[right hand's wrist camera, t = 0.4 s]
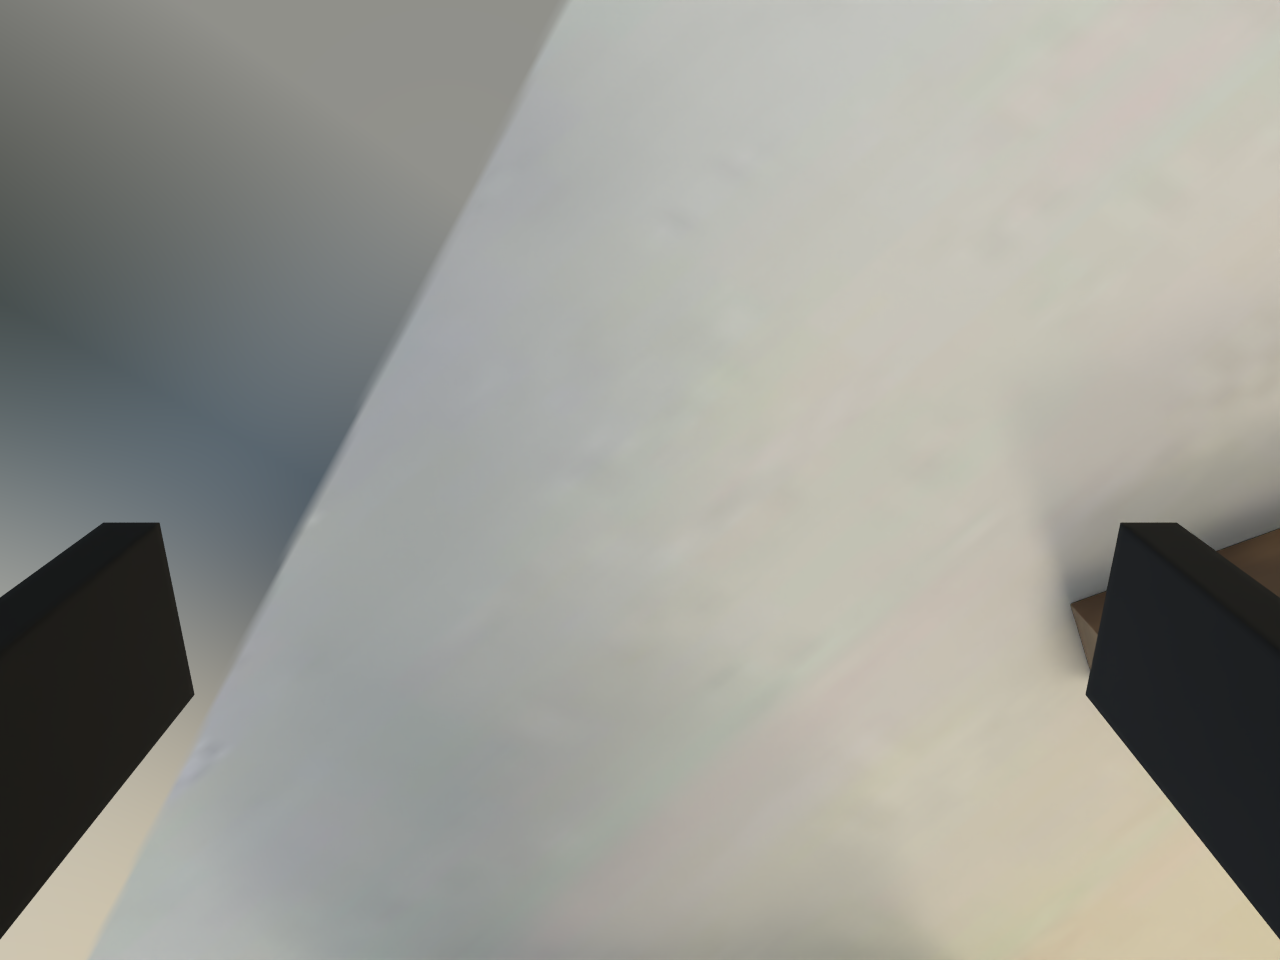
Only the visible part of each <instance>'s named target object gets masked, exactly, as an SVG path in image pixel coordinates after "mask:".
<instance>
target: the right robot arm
mask: <svg viewBox="0 0 1280 960" xmlns="http://www.w3.org/2000/svg"><path fill="white" fill-rule="evenodd" d="M193 696H194V690H193V685H192V680H191V675H190V670H189V666H188V661H187V656H186V651H185V646H184V641H183V636H182V631H181V626H180V621H179V616H178V612H177V607H176V602H175V597H174V592H173V587H172V582H171V577H170V572H169V567H168V562H167V557H166V552H165V548H164V543H163V538H162V533H161V528H160V523H102V524H101V525H100V526H98V527H97V528H95V529H94V530H93V531H91V532H90V533H88V534H87V535H86V536H84V537H83V538H82V539H80V540H79V541H78V542H76V543H75V544H73V545H72V546H71V547H69V548H68V549H66V550H65V551H64V552H62V553H61V554H60V555H58V556H57V557H55V558H54V559H53V560H51V561H50V562H49V563H47V564H46V565H44V566H43V567H42V568H40V569H39V570H38V571H36V572H35V573H33V574H32V575H31V576H29V577H28V578H27V579H25V580H24V581H22V582H21V583H20V584H18V585H17V586H15V587H14V588H13V589H11V590H10V591H9V592H7V593H6V594H5V595H3V596H2V597H0V939H1V938H2V936H3V935H4V934H5V933H6V931H7V930H8V929H9V927H10V926H11V925H12V924H13V922H14V921H15V920H16V919H17V917H18V916H19V915H20V914H21V912H22V911H23V910H24V909H25V907H26V906H27V905H28V904H29V902H30V901H31V900H32V899H33V897H34V896H35V895H36V894H37V892H38V891H39V890H40V888H41V887H42V886H43V885H44V883H45V882H46V881H47V880H48V878H49V877H50V876H51V875H52V873H53V872H54V871H55V870H56V868H57V867H58V866H59V865H60V863H61V862H62V861H63V860H64V858H65V857H66V856H67V854H68V853H69V852H70V851H71V849H72V848H73V847H74V846H75V844H76V843H77V842H78V841H79V839H80V838H81V837H82V836H83V834H84V833H85V832H86V831H87V829H88V828H89V827H90V826H91V824H92V823H93V822H94V820H95V819H96V818H97V817H98V815H99V814H100V813H101V812H102V810H103V809H104V808H105V807H106V805H107V804H108V803H109V802H110V800H111V799H112V798H113V796H114V795H115V794H116V793H117V792H118V790H119V789H120V788H121V786H122V785H123V784H124V783H125V781H126V780H127V779H128V778H129V776H130V775H131V774H132V773H133V771H134V770H135V769H136V768H137V766H138V765H139V764H140V763H141V761H142V760H143V759H144V757H145V756H146V755H147V754H148V752H149V751H150V750H151V749H152V747H153V746H154V745H155V744H156V742H157V741H158V740H159V739H160V737H161V736H162V735H163V733H164V732H165V731H166V730H167V728H168V727H169V726H170V725H171V723H172V722H173V721H174V720H175V718H176V717H177V716H178V715H179V713H180V712H181V711H182V710H183V708H184V707H185V706H186V705H187V703H188V702H189V701H190V699H191V698H192V697H193ZM1086 696H1087V697H1088V698H1089V700H1090V701H1091V702H1092V703H1093V705H1094V706H1095V707H1096V708H1097V710H1098V711H1099V712H1100V713H1101V715H1102V716H1103V717H1104V718H1105V720H1106V721H1107V722H1108V723H1109V725H1110V726H1111V727H1112V729H1113V730H1114V731H1115V732H1116V734H1117V735H1118V736H1119V737H1120V739H1121V740H1122V741H1123V742H1124V744H1125V745H1126V746H1127V747H1128V749H1129V750H1130V751H1131V752H1132V754H1133V755H1134V756H1135V757H1136V759H1137V760H1138V761H1139V763H1140V764H1141V765H1142V766H1143V768H1144V769H1145V770H1146V771H1147V773H1148V774H1149V775H1150V776H1151V778H1152V779H1153V780H1154V781H1155V783H1156V784H1157V785H1158V786H1159V788H1160V789H1161V790H1162V792H1163V793H1164V794H1165V795H1166V797H1167V798H1168V799H1169V800H1170V802H1171V803H1172V804H1173V805H1174V807H1175V808H1176V809H1177V810H1178V812H1179V813H1180V814H1181V815H1182V817H1183V818H1184V819H1185V820H1186V822H1187V823H1188V824H1189V826H1190V827H1191V828H1192V829H1193V831H1194V832H1195V833H1196V834H1197V836H1198V837H1199V838H1200V839H1201V841H1202V842H1203V843H1204V844H1205V846H1206V847H1207V848H1208V849H1209V851H1210V852H1211V853H1212V855H1213V856H1214V857H1215V858H1216V860H1217V861H1218V862H1219V863H1220V865H1221V866H1222V867H1223V868H1224V870H1225V871H1226V872H1227V873H1228V875H1229V876H1230V877H1231V878H1232V880H1233V881H1234V882H1235V883H1236V885H1237V886H1238V887H1239V889H1240V890H1241V891H1242V892H1243V894H1244V895H1245V896H1246V897H1247V899H1248V900H1249V901H1250V902H1251V904H1252V905H1253V906H1254V907H1255V909H1256V910H1257V911H1258V912H1259V914H1260V915H1261V916H1262V918H1263V919H1264V920H1265V921H1266V923H1267V924H1268V925H1269V926H1270V928H1271V929H1272V930H1273V931H1274V933H1275V934H1276V935H1277V936H1278V938H1279V939H1280V597H1278V596H1277V595H1276V594H1274V593H1273V592H1271V591H1270V590H1269V589H1267V588H1266V587H1265V586H1263V585H1262V584H1260V583H1259V582H1258V581H1256V580H1255V579H1254V578H1252V577H1251V576H1249V575H1248V574H1247V573H1245V572H1244V571H1242V570H1241V569H1240V568H1238V567H1237V566H1236V565H1234V564H1233V563H1231V562H1230V561H1229V560H1227V559H1226V558H1225V557H1223V556H1222V555H1220V554H1219V553H1218V552H1216V551H1215V550H1214V549H1212V548H1211V547H1209V546H1208V545H1207V544H1205V543H1204V542H1203V541H1201V540H1200V539H1198V538H1197V537H1196V536H1194V535H1193V534H1192V533H1190V532H1189V531H1187V530H1186V529H1185V528H1183V527H1182V526H1180V525H1179V524H1178V523H1120V528H1119V533H1118V538H1117V543H1116V548H1115V552H1114V557H1113V562H1112V567H1111V572H1110V577H1109V582H1108V587H1107V592H1106V597H1105V602H1104V607H1103V611H1102V616H1101V621H1100V626H1099V631H1098V636H1097V641H1096V646H1095V651H1094V656H1093V661H1092V666H1091V670H1090V675H1089V680H1088V685H1087V690H1086Z"/></svg>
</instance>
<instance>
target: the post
mask: <svg viewBox="0 0 1280 960" xmlns="http://www.w3.org/2000/svg"><path fill="white" fill-rule="evenodd" d="M1216 552H1218V553H1219V554H1220V555H1222V556H1223V557H1225V558H1226V559H1227V560H1229V561H1230V562H1231V563H1233V564H1234V565H1236V566H1237V567H1238V568H1240V569H1241V570H1242V571H1244V572H1245V573H1247V574H1248V575H1249V576H1251V577H1252V578H1254V579H1255V580H1256V581H1258V582H1259V583H1260V584H1262V585H1263V586H1265V587H1266V588H1267V589H1269V590H1270V591H1271V592H1273V593H1274V594H1276V595H1277V596H1278V597H1280V529H1277V530H1275V531H1272V532H1269V533H1266V534H1263V535H1261V536H1258V537H1255V538H1252V539H1250V540H1247V541H1244V542H1241V543H1238V544H1236V545H1233V546H1230V547H1227V548H1225V549H1222V550H1219V551H1216ZM1106 592H1107V591H1105V592H1102V593H1100V594H1097V595H1094V596H1091V597H1089V598H1086V599H1083V600H1080V601H1077V602H1075V603H1072V604H1071V608H1072V611H1073V615H1074V618H1075V621H1076V625H1077V628H1078V631H1079V634H1080V638H1081V641H1082V644H1083V648H1084V651H1085V654H1086V658H1087V661H1088V664H1089V667H1090V670H1091V666H1092V661H1093V656H1094V651H1095V646H1096V641H1097V636H1098V631H1099V626H1100V621H1101V616H1102V611H1103V607H1104V602H1105V597H1106Z"/></svg>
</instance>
